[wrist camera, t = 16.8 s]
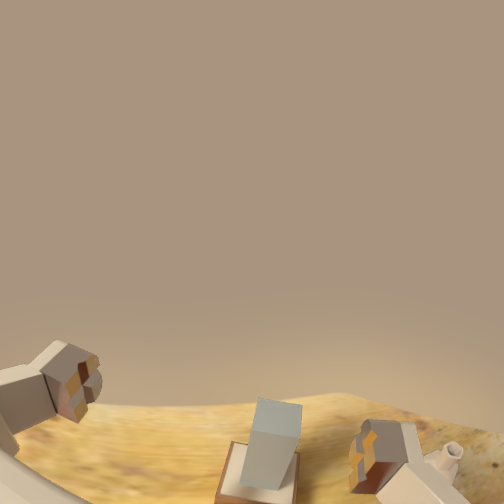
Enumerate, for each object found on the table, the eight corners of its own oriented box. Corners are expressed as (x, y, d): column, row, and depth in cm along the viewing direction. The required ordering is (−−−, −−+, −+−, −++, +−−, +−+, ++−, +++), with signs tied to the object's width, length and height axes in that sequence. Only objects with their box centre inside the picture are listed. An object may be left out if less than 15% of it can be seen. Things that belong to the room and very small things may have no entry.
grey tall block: (238, 484, 27) (251, 429, 23) (245, 456, 30) (258, 397, 27) (277, 490, 26) (300, 438, 23) (281, 462, 30) (302, 405, 27)
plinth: (214, 506, 26) (215, 494, 25) (229, 454, 34) (231, 439, 33) (288, 519, 25) (295, 508, 24) (294, 465, 33) (300, 451, 32)
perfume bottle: (376, 501, 27) (438, 424, 22) (405, 515, 25) (476, 440, 19) (357, 528, 24) (424, 457, 19) (388, 543, 21) (466, 475, 16)
